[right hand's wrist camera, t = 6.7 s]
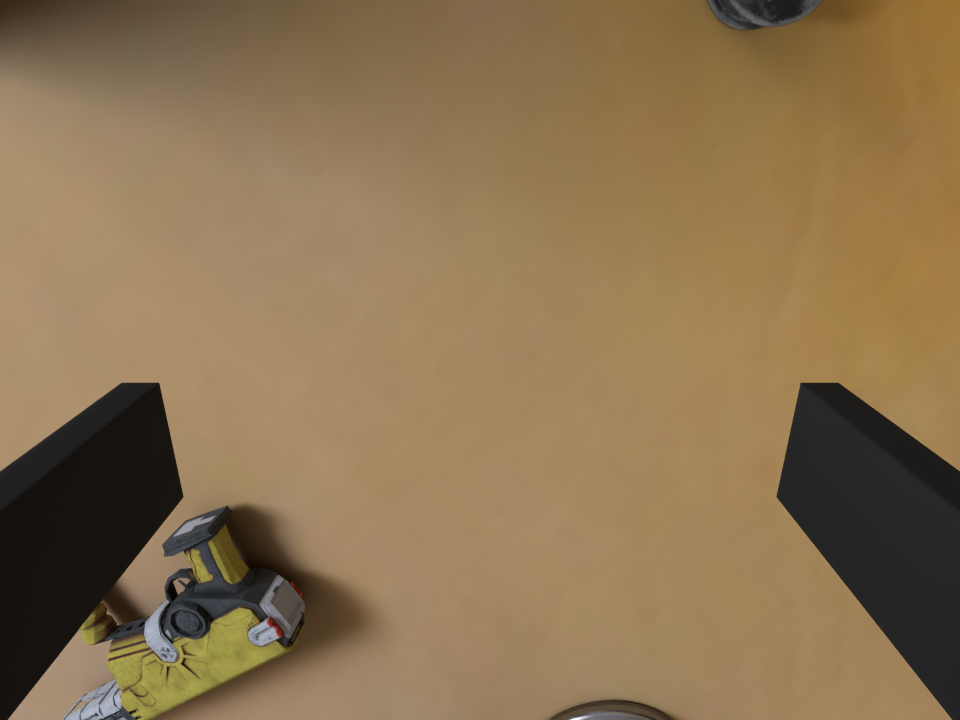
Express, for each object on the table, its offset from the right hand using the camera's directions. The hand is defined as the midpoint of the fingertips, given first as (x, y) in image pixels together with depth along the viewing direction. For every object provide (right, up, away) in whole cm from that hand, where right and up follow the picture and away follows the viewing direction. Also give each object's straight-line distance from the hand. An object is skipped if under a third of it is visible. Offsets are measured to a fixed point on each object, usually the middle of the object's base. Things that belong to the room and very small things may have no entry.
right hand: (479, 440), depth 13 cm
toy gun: (-27, -18, +37) cm, 49 cm away
